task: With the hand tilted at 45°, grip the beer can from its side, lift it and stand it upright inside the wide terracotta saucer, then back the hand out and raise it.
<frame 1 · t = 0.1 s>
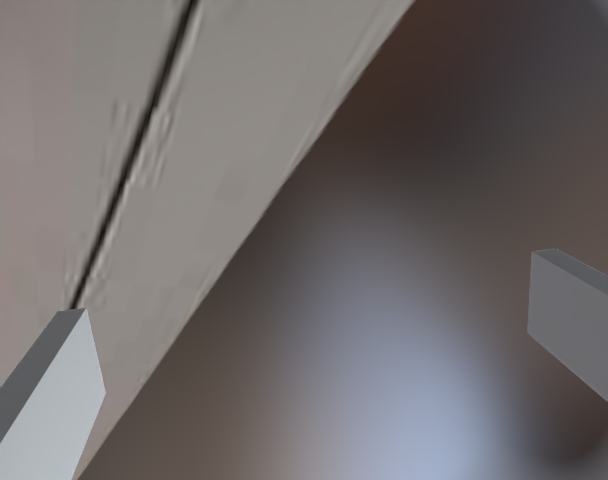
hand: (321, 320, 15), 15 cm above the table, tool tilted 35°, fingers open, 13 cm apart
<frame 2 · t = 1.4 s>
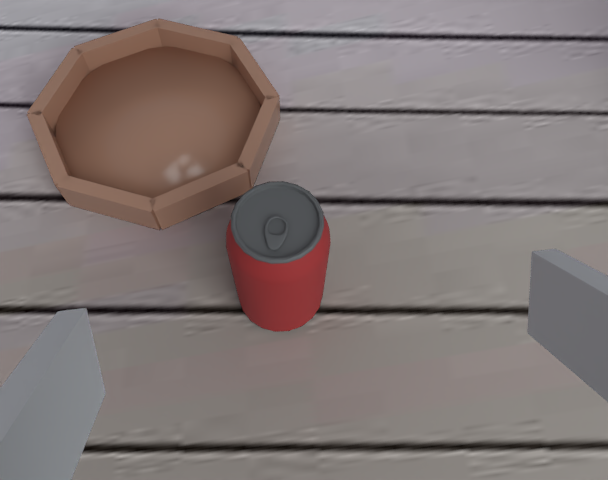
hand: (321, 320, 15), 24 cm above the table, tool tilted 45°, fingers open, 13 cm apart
terracotta saucer: (162, 126, 49), on the table
beer can: (280, 294, 42), on the table
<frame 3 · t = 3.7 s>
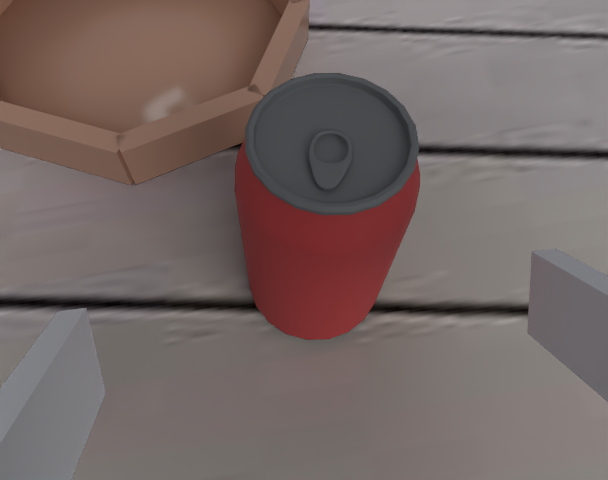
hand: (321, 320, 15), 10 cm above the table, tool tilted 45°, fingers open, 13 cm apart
terracotta saucer: (141, 45, 35), on the table
beer can: (313, 283, 27), on the table
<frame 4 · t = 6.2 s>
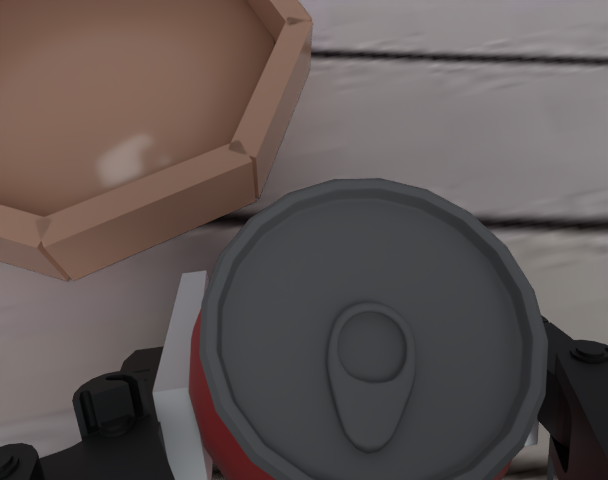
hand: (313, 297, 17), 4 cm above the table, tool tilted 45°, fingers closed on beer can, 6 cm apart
terracotta saucer: (92, 80, 26), on the table
beer can: (322, 430, 19), on the table, touching gripper
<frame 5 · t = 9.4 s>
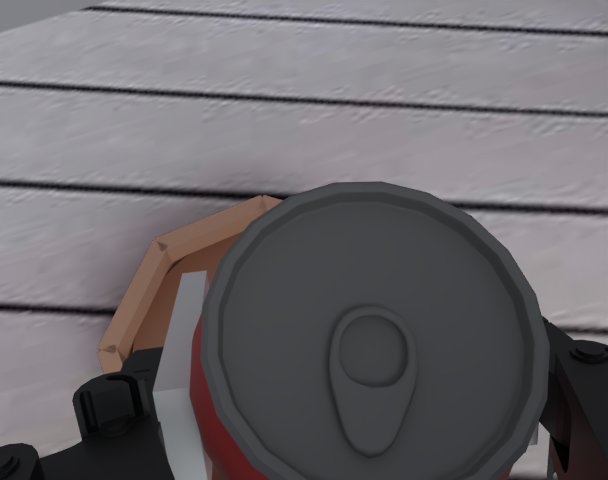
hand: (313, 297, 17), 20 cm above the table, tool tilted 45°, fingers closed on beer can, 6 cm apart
terracotta saucer: (270, 350, 37), on the table
beer can: (323, 432, 19), point 16 cm above the table, touching gripper
when the fingers open (6 cm above the table, at t = 12.9 s): beer can drops 1 cm, resting on terracotta saucer.
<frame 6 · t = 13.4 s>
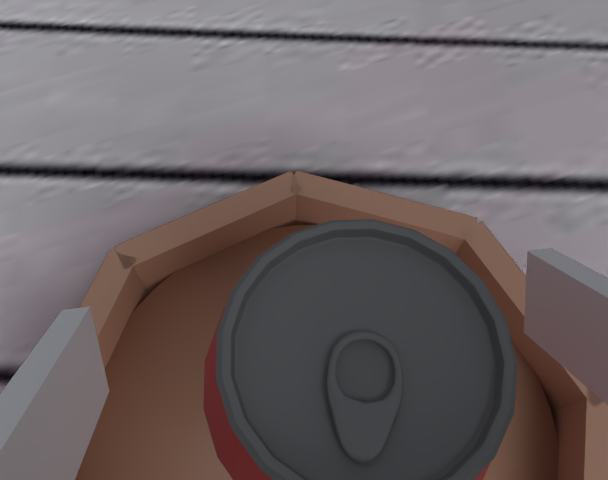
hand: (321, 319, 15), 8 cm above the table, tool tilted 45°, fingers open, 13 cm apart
terracotta saucer: (318, 437, 21), on the table
beer can: (322, 438, 20), point 1 cm above the table, touching terracotta saucer
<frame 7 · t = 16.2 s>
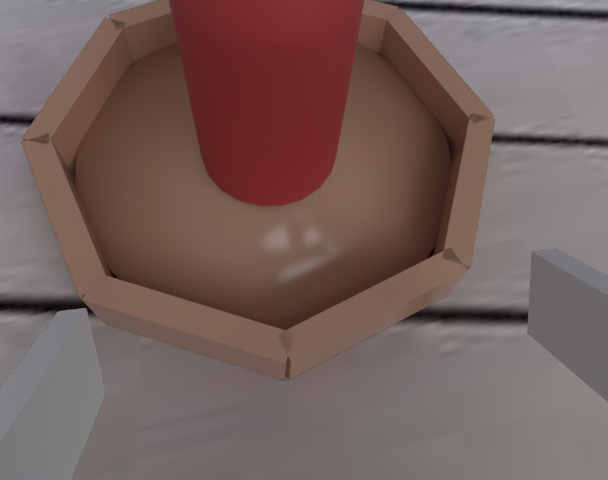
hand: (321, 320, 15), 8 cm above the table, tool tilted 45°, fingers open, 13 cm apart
terracotta saucer: (268, 165, 27), on the table
beer can: (269, 157, 26), point 1 cm above the table, touching terracotta saucer
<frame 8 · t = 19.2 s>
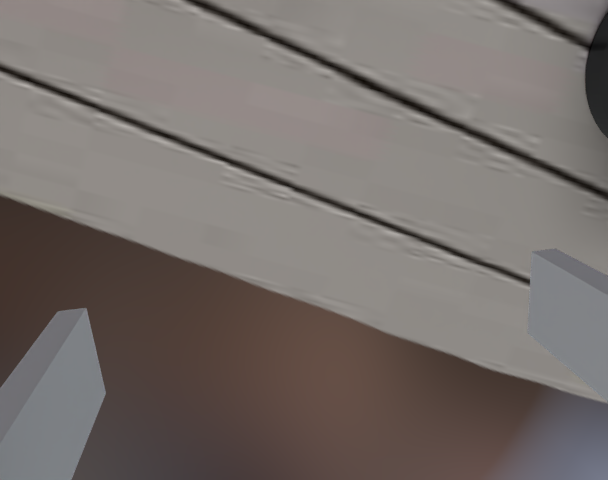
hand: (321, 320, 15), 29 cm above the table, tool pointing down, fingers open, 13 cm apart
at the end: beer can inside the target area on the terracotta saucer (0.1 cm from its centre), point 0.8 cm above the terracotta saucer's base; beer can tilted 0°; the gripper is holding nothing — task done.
